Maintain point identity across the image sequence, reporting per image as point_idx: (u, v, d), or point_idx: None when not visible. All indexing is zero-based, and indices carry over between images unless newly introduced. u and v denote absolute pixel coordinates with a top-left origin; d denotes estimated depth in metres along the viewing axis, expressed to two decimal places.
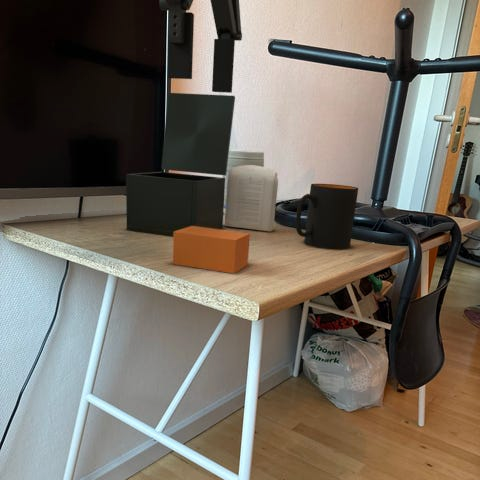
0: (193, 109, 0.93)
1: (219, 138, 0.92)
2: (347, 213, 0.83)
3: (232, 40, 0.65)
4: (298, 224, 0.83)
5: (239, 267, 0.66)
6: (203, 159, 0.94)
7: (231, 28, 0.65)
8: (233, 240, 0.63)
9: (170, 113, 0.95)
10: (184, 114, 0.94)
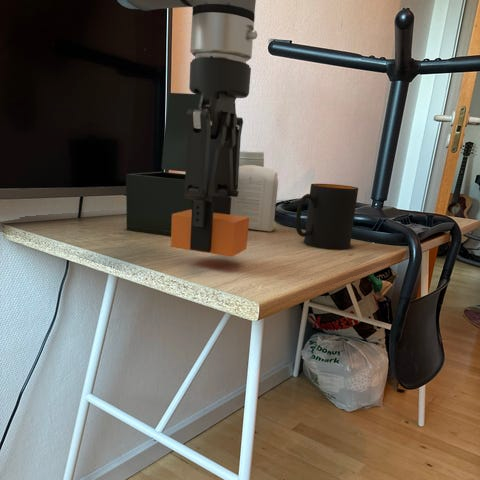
0: (193, 109, 0.93)
1: None
2: (347, 213, 0.83)
3: (229, 198, 0.68)
4: (298, 224, 0.83)
5: (238, 251, 0.66)
6: None
7: (229, 185, 0.68)
8: (232, 223, 0.63)
9: (170, 113, 0.95)
10: (184, 114, 0.94)
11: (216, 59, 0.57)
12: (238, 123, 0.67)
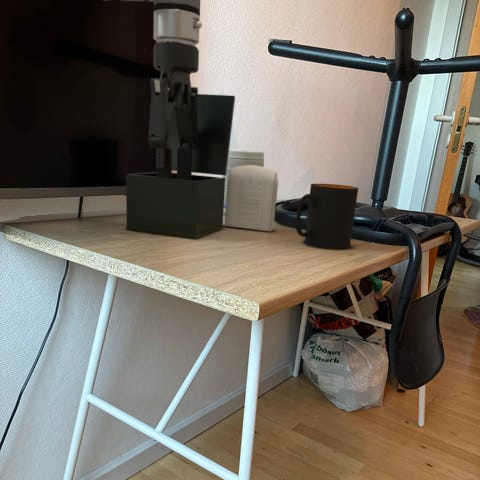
0: None
1: (219, 138, 0.92)
2: (347, 213, 0.83)
3: (190, 149, 0.90)
4: (298, 224, 0.83)
5: None
6: (203, 159, 0.94)
7: (189, 139, 0.89)
8: None
9: None
10: None
11: (171, 43, 0.78)
12: (194, 92, 0.88)
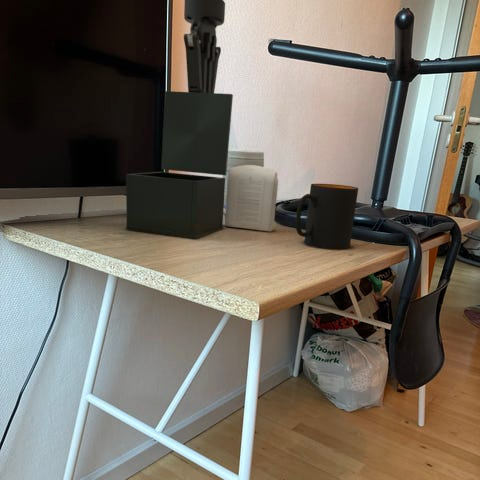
0: (191, 108, 0.92)
1: (217, 138, 0.92)
2: (347, 213, 0.83)
3: None
4: (298, 224, 0.83)
5: None
6: (203, 159, 0.94)
7: (207, 89, 0.95)
8: None
9: (168, 112, 0.94)
10: (182, 113, 0.93)
11: None
12: (217, 49, 0.96)
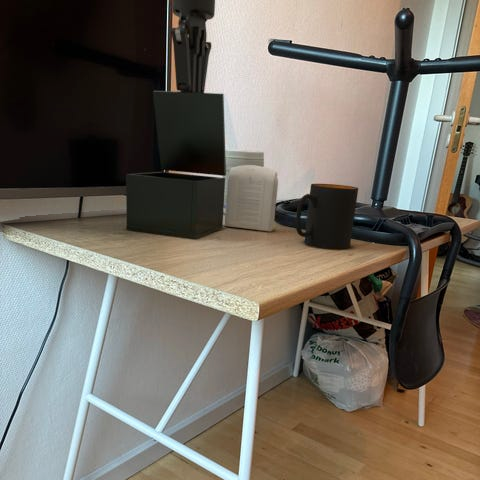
0: (182, 109, 0.89)
1: (213, 139, 0.90)
2: (347, 213, 0.83)
3: None
4: (298, 224, 0.83)
5: None
6: (201, 160, 0.93)
7: (197, 86, 0.91)
8: None
9: (159, 113, 0.91)
10: (173, 114, 0.90)
11: None
12: (207, 44, 0.92)
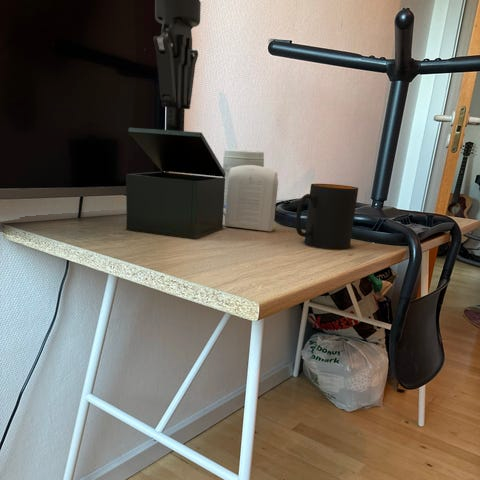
0: (164, 142, 0.85)
1: (204, 159, 0.88)
2: (347, 213, 0.83)
3: (182, 109, 0.86)
4: (298, 224, 0.83)
5: None
6: (198, 168, 0.92)
7: (183, 97, 0.86)
8: None
9: (142, 143, 0.87)
10: (157, 144, 0.86)
11: None
12: (194, 53, 0.87)
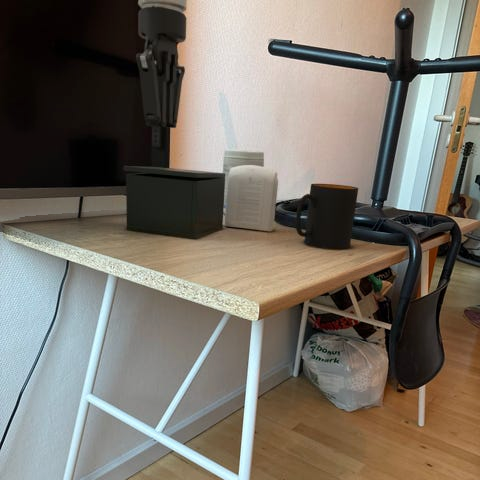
0: None
1: None
2: (347, 213, 0.83)
3: (168, 128, 0.82)
4: (298, 224, 0.83)
5: None
6: None
7: (168, 115, 0.82)
8: None
9: None
10: None
11: (156, 8, 0.74)
12: (180, 69, 0.83)
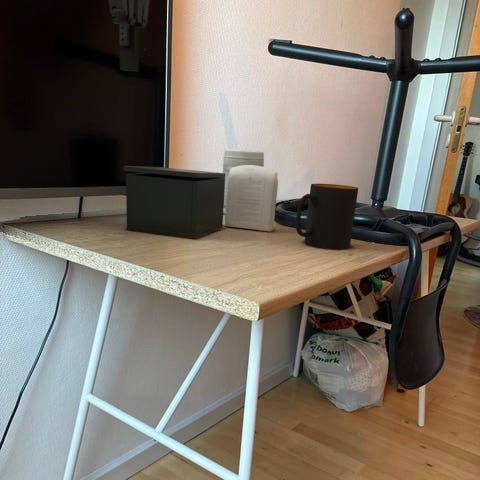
0: None
1: None
2: (347, 213, 0.83)
3: (136, 27, 0.79)
4: (298, 224, 0.83)
5: None
6: None
7: (136, 13, 0.79)
8: None
9: None
10: None
11: None
12: None
